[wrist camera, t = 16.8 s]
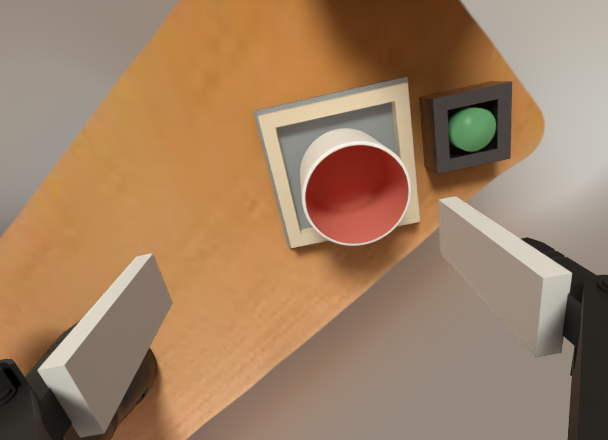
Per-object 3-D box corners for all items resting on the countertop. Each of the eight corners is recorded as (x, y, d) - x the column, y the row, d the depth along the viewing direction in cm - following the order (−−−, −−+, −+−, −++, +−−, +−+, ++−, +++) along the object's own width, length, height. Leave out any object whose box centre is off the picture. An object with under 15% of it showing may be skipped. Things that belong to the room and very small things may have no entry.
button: (442, 149, 39) (454, 155, 36) (440, 111, 38) (453, 113, 35) (480, 141, 39) (495, 146, 36) (480, 102, 38) (496, 104, 35)
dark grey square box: (424, 165, 41) (437, 173, 38) (419, 97, 38) (433, 99, 35) (490, 151, 41) (510, 158, 37) (490, 81, 38) (512, 81, 34)
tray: (288, 242, 45) (288, 252, 42) (254, 110, 38) (252, 112, 36) (416, 216, 44) (424, 224, 41) (404, 76, 37) (412, 76, 35)
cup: (383, 121, 38) (412, 134, 29) (384, 205, 42) (411, 240, 32) (294, 132, 38) (295, 148, 29) (304, 214, 42) (307, 252, 33)
